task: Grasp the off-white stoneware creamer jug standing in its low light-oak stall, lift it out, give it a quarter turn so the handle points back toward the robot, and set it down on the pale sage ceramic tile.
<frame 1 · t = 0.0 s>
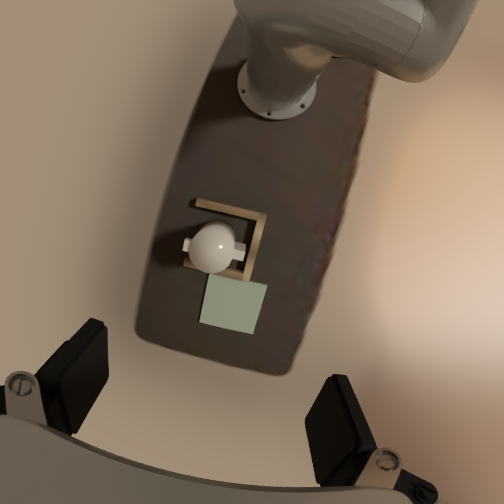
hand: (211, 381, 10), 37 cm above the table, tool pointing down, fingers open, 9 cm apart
oak stall: (217, 237, 46), on the table
sage tile: (232, 303, 50), on the table
jug: (217, 237, 46), on the table
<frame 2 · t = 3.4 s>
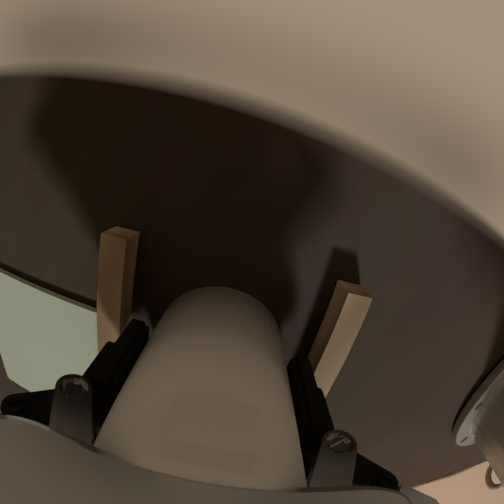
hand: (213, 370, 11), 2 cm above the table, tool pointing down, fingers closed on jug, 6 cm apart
oak stall: (218, 343, 13), on the table
sage tile: (43, 352, 14), on the table
teacup with lid: (501, 434, 19), on the table
jug: (218, 343, 13), on the table, touching gripper
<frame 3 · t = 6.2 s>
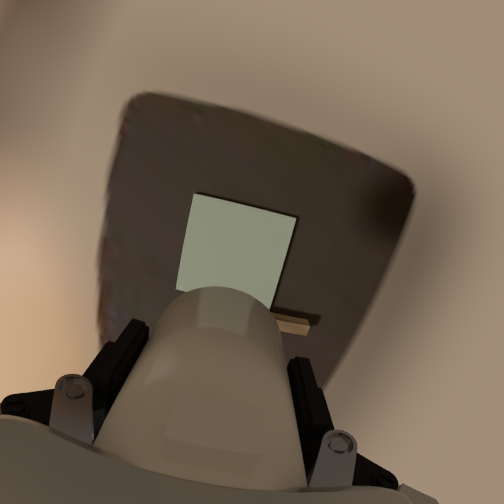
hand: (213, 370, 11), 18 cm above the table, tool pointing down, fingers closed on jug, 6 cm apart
oak stall: (254, 353, 31), on the table
sage tile: (233, 254, 28), on the table
jug: (218, 343, 13), point 16 cm above the table, touching gripper
when the fingers open (4 cm above the table, at t = 9.1 s): jug drops 2 cm, resting on sage tile.
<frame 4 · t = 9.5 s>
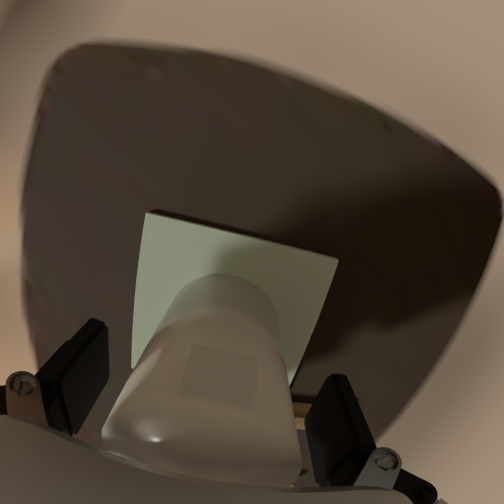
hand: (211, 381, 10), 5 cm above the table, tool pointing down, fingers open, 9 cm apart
oak stall: (258, 445, 18), on the table
sage tile: (222, 321, 15), on the table
jug: (222, 326, 15), resting on sage tile
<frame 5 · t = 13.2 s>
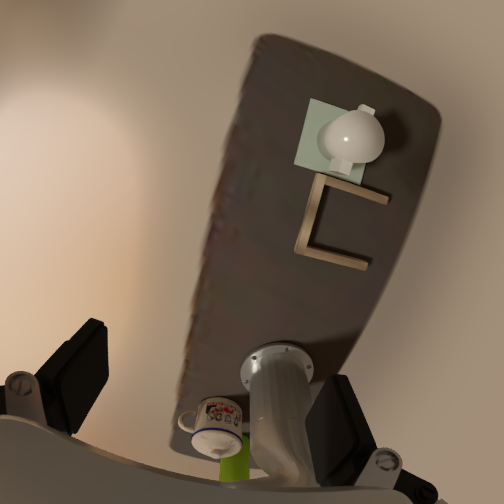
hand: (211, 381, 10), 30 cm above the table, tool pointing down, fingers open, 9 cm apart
oak stall: (347, 224, 39), on the table
sage tile: (336, 141, 36), on the table
teacup with lid: (213, 408, 49), on the table
jug: (337, 141, 36), resting on sage tile
soap dispenser: (237, 440, 52), on the table
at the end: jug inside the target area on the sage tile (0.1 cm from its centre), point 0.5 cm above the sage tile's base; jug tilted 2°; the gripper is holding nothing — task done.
